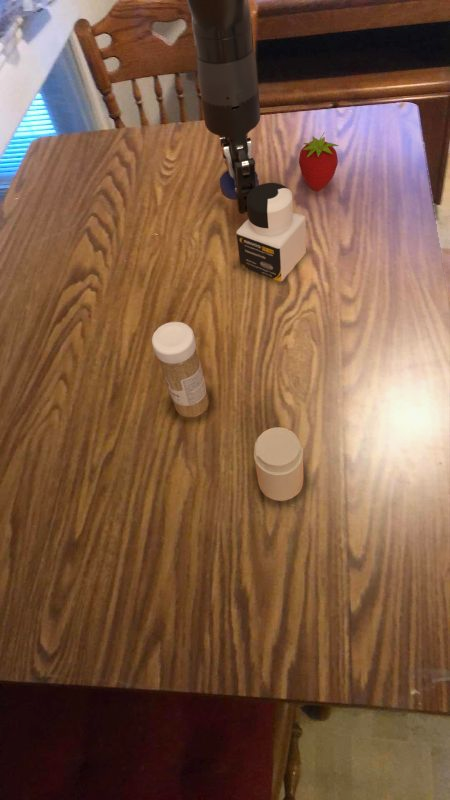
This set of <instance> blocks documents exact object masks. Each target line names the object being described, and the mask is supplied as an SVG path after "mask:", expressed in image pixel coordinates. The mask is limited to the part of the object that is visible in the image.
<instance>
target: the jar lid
mask: <svg viewBox="0 0 450 800" xmlns="http://www.w3.org/2000/svg"><path fill="white" fill-rule="evenodd" d="M233 170H235V168H233ZM255 185H256V186H258V185H260V180H259V176H258V173H257V171H255ZM219 187H220V191H221V194H222V196H224V197H225V198H227V199H230V200H236V201H237V195H236V192H235V184H234V179H233V178H232V177H231V176H230V175H229V171H228V170H226V171H225V172H223V173H222V174H221V176H220V178H219Z"/></svg>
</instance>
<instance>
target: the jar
mask: <svg viewBox="0 0 450 800" xmlns="http://www.w3.org/2000/svg"><path fill="white" fill-rule="evenodd" d="M299 439H300V438H298V436H297V435H296V434H295V432H294V431H292V430H290V429H289V428H286V427H280V426H276V427H275V426H274V427H271V428H268V429H266V430H264V431H263V432H261V433H260V435H259V436H258V437H257V439H256V440H255V443H254V449H253V458H254V459H253V460H254V465H255V471H256V478H257V484H258V487H259V489H260V491H261V492H262V494H263V495H264V496H266V497H267V498H269V499H271V500H273V501H279V502H283V501H289V500H290V499H293V498H294V497H296V496H297V495H298V494H299V493H300V492H301V490H302V488H303V485H304V449H303V445H302V444H301V442H300V440H299Z"/></svg>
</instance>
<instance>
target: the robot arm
mask: <svg viewBox="0 0 450 800" xmlns="http://www.w3.org/2000/svg"><path fill="white" fill-rule="evenodd" d="M186 2H187V6H188V9H189V11H190V15H191V26H192V33H193V34H192V35H193V40H194V48H195V53H196V67H197V68H196V69H197V79H198V80H197V81H198V85H199V86H198V87H199V93H200V99H201V107H202V114H203V119H204V125H205V127H206V129H207V130H208V131H209V132H210V133H211V134H213V135H216V136H218V141H219V144H220V151H221V154H222V158H223V159H224V164H225V166H226V169H227V171H229V175H230V176H231V177H232V178H233V179H234V184H235V192H236V195H237V200H236V202H237V204H236V205H237V210H238V213H239V214H241V215H244V214H248V213H247V203H246V198H247V195H248V194H249V192H250V191H251V190H252V189H253V188H255V187H256V185H255V172H256V167H255V166H256V161H255V159H254V157H253V156H252V155H253V154H252V152H253V144H252V143H253V142H252V138H251V136H248V134H249V133H250V132H251V131H252V130H254V129H256V127H257V126H258V125H259V124H260V121H261V105H260V91H259V76H258V75H259V73H258V63H257V58H256V54H255V47H254V35H253V34H254V33H253V22H252V12H251V11H252V10H251V5H250V1H249V0H186ZM233 168H235V170H233Z"/></svg>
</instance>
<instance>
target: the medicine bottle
mask: <svg viewBox="0 0 450 800" xmlns="http://www.w3.org/2000/svg"><path fill="white" fill-rule="evenodd" d="M246 203H247V213H246V214H247V219H246V220H245V221H244V222H243V224H242V225H241V226H240V227H239V228H238V229H237V230H236V232H235V233H236V234H235V235H236V242H237V249H238V250H237V251H238V257H239V264H240V265H239V266H240V267H241V268H243V269H246V270H248V271H252V272H254V273H256V274H259V275H262V276H264V277H267V278H269V279H271V280H275V281H277V282H283V281H284V280H285V279H286V277H287V276H288V275H289V274H290V273H291V271H293V269H294V268H295V266H296V265H297V264H298V263H299V262H300V261H301V259H302V258H303V257H304V256H305V254H306V253H307V218H306V216H304V215H302V214H300V213H296V212H294V211H293V210H294V209H293V207H294V206H293V193H292V191H291V189H289V188H288V187H287V186H286V185H284V184H281V183H279V182H265V183H260V184H259V185H258V186H256V187H255V188H253V189H252V190H251V191H250V192H249V194H248V195H247V198H246Z"/></svg>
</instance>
